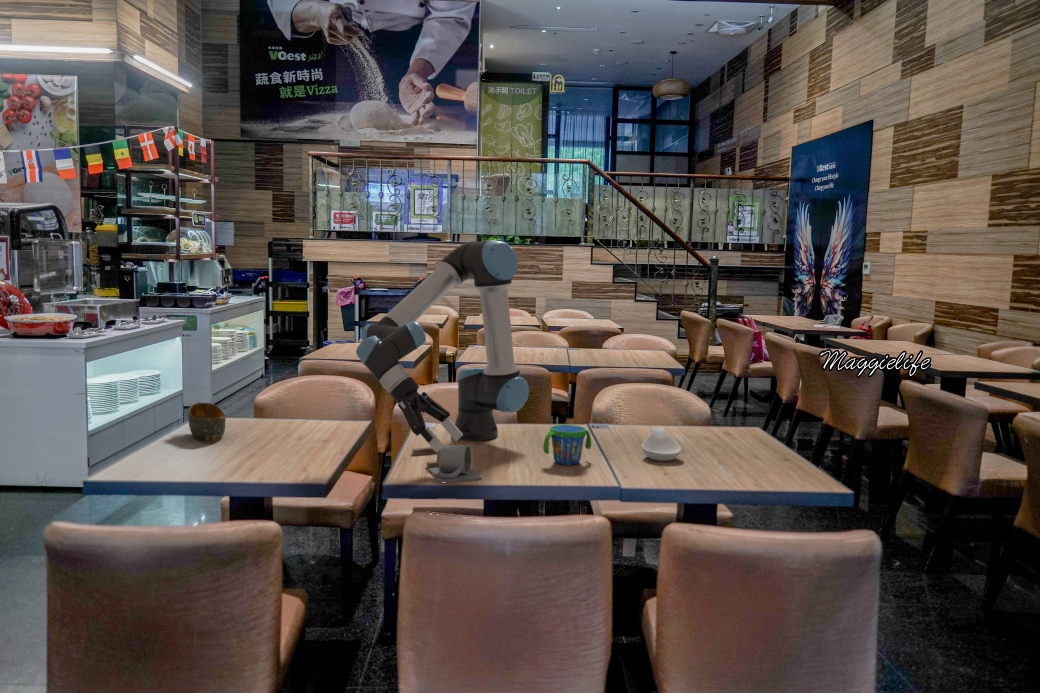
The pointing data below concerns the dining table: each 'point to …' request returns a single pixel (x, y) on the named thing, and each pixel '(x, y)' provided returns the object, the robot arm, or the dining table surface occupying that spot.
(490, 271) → the robot arm
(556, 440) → the snack cup
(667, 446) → the spoon rest
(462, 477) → the slate mat
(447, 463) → the ceramic mug
